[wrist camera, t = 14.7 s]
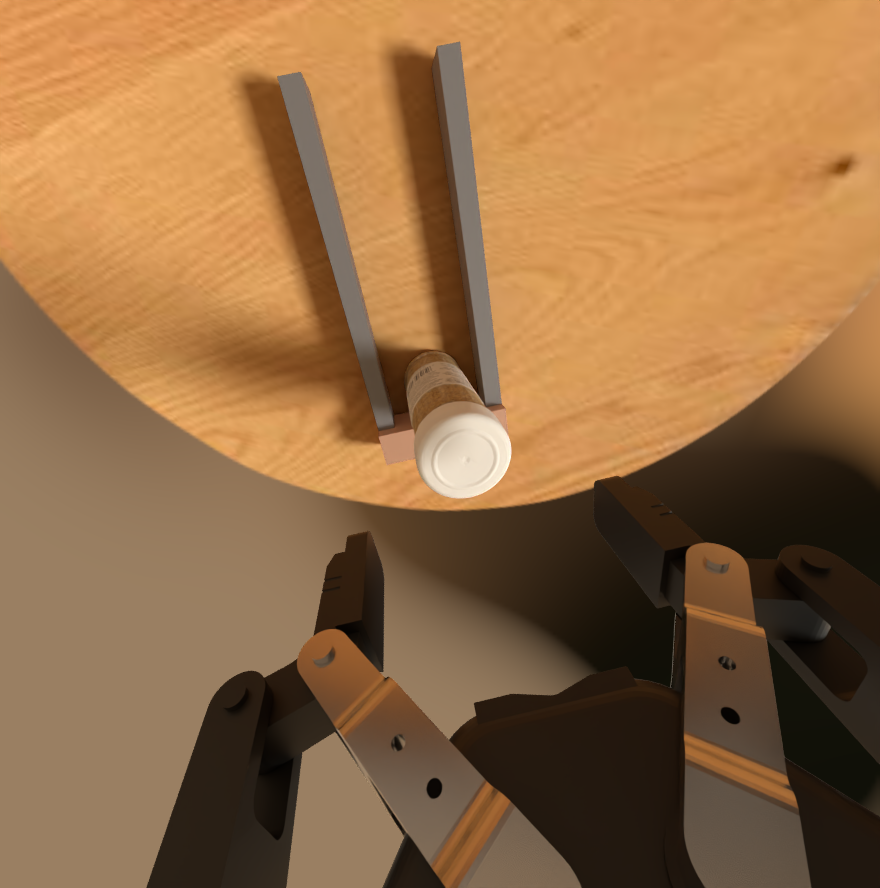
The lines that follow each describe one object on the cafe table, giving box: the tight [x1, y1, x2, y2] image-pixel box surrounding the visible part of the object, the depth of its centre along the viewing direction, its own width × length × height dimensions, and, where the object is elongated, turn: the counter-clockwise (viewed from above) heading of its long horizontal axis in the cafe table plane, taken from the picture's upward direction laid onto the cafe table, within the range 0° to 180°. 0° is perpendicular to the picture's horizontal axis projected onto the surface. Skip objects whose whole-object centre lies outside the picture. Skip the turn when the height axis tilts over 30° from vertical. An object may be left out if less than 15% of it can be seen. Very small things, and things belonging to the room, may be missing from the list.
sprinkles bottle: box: [404, 351, 511, 498], centre depth 23 cm, size 5×4×14 cm
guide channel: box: [277, 42, 509, 465], centre depth 25 cm, size 22×9×4 cm, turn 11°
